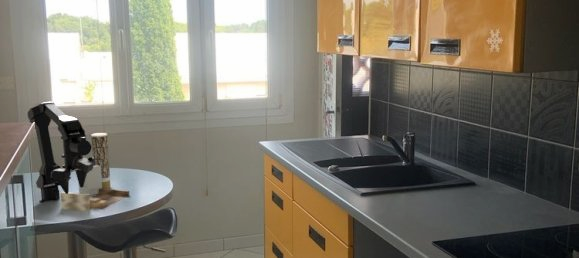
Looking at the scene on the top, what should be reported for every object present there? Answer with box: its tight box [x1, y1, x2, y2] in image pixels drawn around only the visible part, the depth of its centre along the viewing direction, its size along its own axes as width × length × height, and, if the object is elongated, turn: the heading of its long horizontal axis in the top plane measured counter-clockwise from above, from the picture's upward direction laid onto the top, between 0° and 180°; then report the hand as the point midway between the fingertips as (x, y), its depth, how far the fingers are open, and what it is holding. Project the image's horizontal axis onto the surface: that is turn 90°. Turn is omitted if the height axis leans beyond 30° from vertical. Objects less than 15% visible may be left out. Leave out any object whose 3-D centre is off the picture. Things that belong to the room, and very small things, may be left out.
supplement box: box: [78, 165, 102, 196], centre depth 256 cm, size 7×7×13 cm
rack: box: [90, 188, 130, 210], centre depth 245 cm, size 14×19×3 cm
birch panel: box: [60, 191, 91, 212], centre depth 233 cm, size 12×2×7 cm, turn 73°
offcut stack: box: [89, 196, 109, 209], centre depth 238 cm, size 13×4×3 cm, turn 73°
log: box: [90, 132, 111, 189], centre depth 262 cm, size 7×7×25 cm
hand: (74, 190), depth 232 cm, fingers open, 9 cm apart
